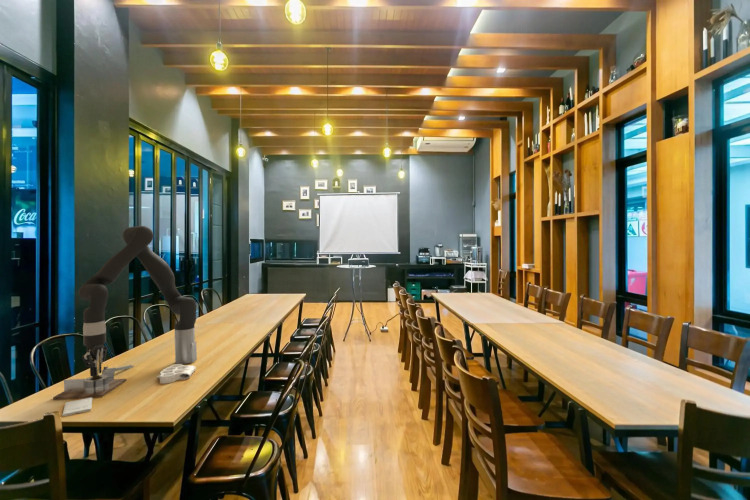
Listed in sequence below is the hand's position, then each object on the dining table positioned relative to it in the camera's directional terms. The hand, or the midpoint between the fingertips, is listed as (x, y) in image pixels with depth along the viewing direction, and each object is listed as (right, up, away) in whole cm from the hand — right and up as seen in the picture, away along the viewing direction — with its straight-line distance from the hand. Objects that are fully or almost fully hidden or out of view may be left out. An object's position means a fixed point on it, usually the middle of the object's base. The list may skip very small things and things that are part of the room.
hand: (96, 374), depth 157 cm
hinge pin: (0, -3, 0) cm, 3 cm away
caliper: (-7, -8, +24) cm, 26 cm away
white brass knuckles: (+23, -7, +19) cm, 30 cm away
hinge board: (-4, -8, +4) cm, 9 cm away
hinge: (-4, -7, +4) cm, 9 cm away
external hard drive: (+4, -9, -14) cm, 17 cm away
